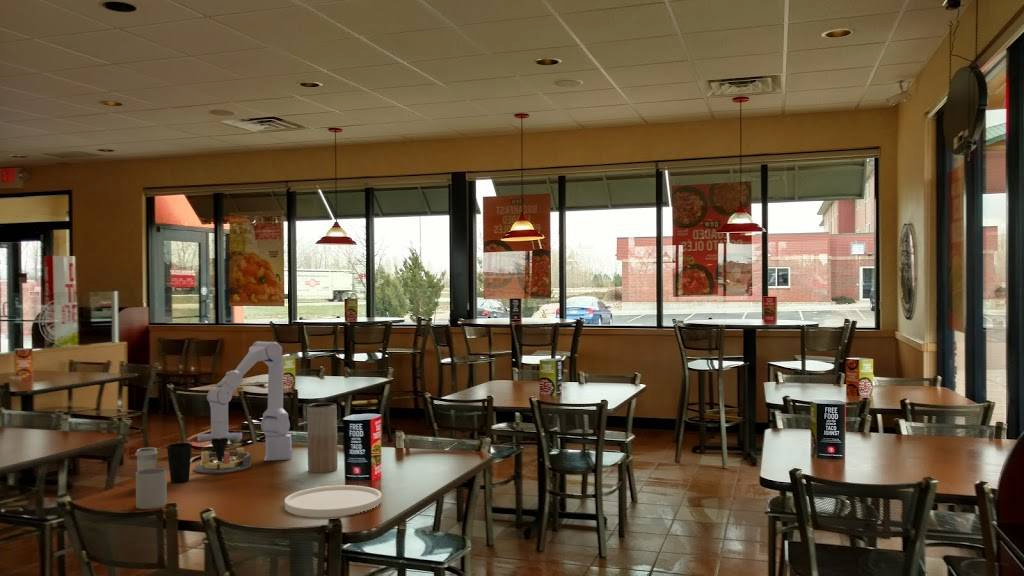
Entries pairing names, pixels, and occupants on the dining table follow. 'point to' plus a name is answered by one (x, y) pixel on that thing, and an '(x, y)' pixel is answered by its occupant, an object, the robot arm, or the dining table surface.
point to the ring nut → (237, 460)
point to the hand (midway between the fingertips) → (220, 460)
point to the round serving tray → (227, 470)
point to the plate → (333, 501)
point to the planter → (322, 437)
